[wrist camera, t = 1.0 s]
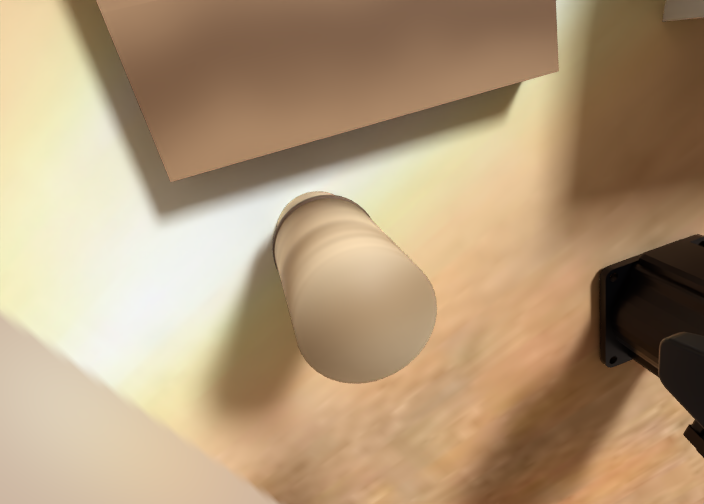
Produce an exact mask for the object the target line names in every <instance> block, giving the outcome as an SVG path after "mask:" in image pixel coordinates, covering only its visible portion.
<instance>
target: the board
mask: <svg viewBox="0 0 704 504" xmlns="http://www.w3.org/2000/svg"><path fill="white" fill-rule="evenodd" d="M96 2H97V4H98V7H99V9H100V11H101V14H102V16H103V19H104V21H105V24H106V26H107V28H108V31H109V33H110V36H111V38H112V41H113V43H114V46H115V48H116V50H117V53H118V55H119V58H120V60H121V63H122V65H123V67H124V70H125V72H126V75H127V77H128V80H129V82H130V85H131V87H132V89H133V92H134V94H135V97H136V99H137V102H138V104H139V106H140V109H141V111H142V114H143V116H144V119H145V121H146V123H147V126H148V128H149V131H150V133H151V136H152V138H153V141H154V143H155V145H156V148H157V150H158V153H159V155H160V158H161V160H162V162H163V165H164V167H165V170H166V172H167V175H168V177H169V179H170V182H173V181H177V180H180V179H184V178H187V177H191V176H194V175H198V174H201V173H205V172H208V171H211V170H215V169H218V168H222V167H225V166H229V165H232V164H236V163H239V162H243V161H246V160H250V159H253V158H257V157H260V156H264V155H267V154H271V153H274V152H278V151H281V150H285V149H288V148H292V147H295V146H299V145H302V144H306V143H309V142H313V141H316V140H320V139H323V138H327V137H330V136H334V135H337V134H341V133H344V132H348V131H351V130H355V129H358V128H362V127H365V126H369V125H372V124H375V123H379V122H382V121H386V120H389V119H393V118H396V117H400V116H403V115H407V114H410V113H414V112H417V111H421V110H424V109H428V108H431V107H435V106H438V105H442V104H445V103H449V102H452V101H456V100H459V99H463V98H466V97H470V96H473V95H477V94H480V93H484V92H487V91H491V90H494V89H498V88H501V87H505V86H508V85H512V84H515V83H519V82H522V81H526V80H529V79H533V78H536V77H540V76H543V75H546V74H550V73H553V72H557V71H559V67H558V43H557V20H556V0H96Z"/></svg>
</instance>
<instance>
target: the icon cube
mask: <svg viewBox="0 0 704 504" xmlns="http://www.w3.org/2000/svg"><path fill="white" fill-rule="evenodd" d="M697 18H704V0H666V1H665V8H664V14H663V20H662V21H674V20H686V19H697Z"/></svg>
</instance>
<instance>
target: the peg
mask: <svg viewBox="0 0 704 504" xmlns="http://www.w3.org/2000/svg"><path fill="white" fill-rule="evenodd" d="M272 250H273V257H274V261H275V265H276V268H277V270H278V272H279V275H280V279H281V283H282V286H283V290H284V294H285V298H286V302H287V305H288V309H289V313H290V317H291V321H292V324H293V328H294V332H295V336H296V339H297V343H298V347H299V349H300V351H301V354H302V355H303V357H304V358H305V360H306V361H307V362H308V364H309V365H310V366H311V367H312V368H313V369H315V370H316V371H317V372H318V373H320V374H322V375H323V376H325V377H327V378H330V379H332V380H335V381H339V382H344V383H367V382H373V381H377V380H380V379H383V378H385V377H388V376H390V375H392V374H394V373H396V372H398V371H399V370H401V369H402V368H404V367H405V366H407V365H408V364H409V363H410V362H411V361H412V360H414V358H415V357H416V356H417V355H418V354H419V353H420V352H421V351H422V349H423V348H424V347H425V345H426V343H427V342H428V340H429V338H430V336H431V334H432V331H433V328H434V325H435V321H436V315H437V302H436V296H435V292H434V289H433V287H432V285H431V282H430V281H429V279H428V278H427V276H426V275H425V274H424V273H423V271H422V270H421V269H420V268H419V267H418V266H417V265H416V264H415V263H414V262H413V261H412V260H411V259H410V258H409V257H408V256H407V255H406V254H405V253H404V252H403V251H402V250H401V249H400V248H399V247H398V246H397V245H396V244H395V243H394V242H393V241H392V240H391V239H390V238H389V237H388V236H387V235H386V234H385V233H384V232H383V231H382V230H381V229H380V228H379V227H378V226H377V225H376V223H375V222H374V221H373V220H372V219H371V218H370V216H369V215H368V214H367V213H366V212H365V210H364V209H363V208H361V207H360V206H359V205H358V204H356V203H355V202H353V201H352V200H349V199H347V198H344V197H341V196H336V195H333V194H331V193H327V192H322V191H315V192H308V193H305V194H302V195H300V196H298V197H296V198H295V199H293V200H292V201H291V202H290V203H288V204H287V206H286V207H285V208H284V209H283V211H282V212H281V215H280V217H279V219H278V223H277V228H276V231H275V234H274V238H273V248H272Z"/></svg>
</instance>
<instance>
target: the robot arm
mask: <svg viewBox="0 0 704 504" xmlns="http://www.w3.org/2000/svg"><path fill="white" fill-rule="evenodd" d="M610 276H611V277H610ZM600 349H601V362H602V363H603V364H605V365H606V366H607V367H610V368H611V367H614V366H617V365H619V364H622V363H625V362H627V361H630V360H632V359H633V360H635V361H636V362H638V363H639V364H641V365H642V366H643V367H645V368H646V369H648V370H649V371H650V372H652V373H653V374H655V375H656V376H658V377H659V378H660V380H661V382H662V384H663V385H664V387H665V388H666V389H667V390H668V391H669V392H670V393H671V394H672V395H673V396H674V397H675V398H676V400H677V401H678V402H679V403H680V404H681V405H682V406H683V407H684V408H685V409H686V410H687V411H688V412H689V413H690V414H691V416H692V417H693V418H694V419H695V420H694V422H693V424H692V425H688V427H687V429H686V430H685V432H684V434H683V435H684V436H685V437H686V438H687V439H688V440H689V441H690V442H691V443H692V445H693V446H694V447H695V448H696V450H697V451H698V452H699V453H700V454H701V455H702V456H703V458H704V236H702V235H699V234H697V235H693V236H691V237H688V238H685V239H682V240H678V241H675V242H673V243H670V244H667V245H664V246H662V247H659V248H656V249H653V250H650V251H648V252H645V253H643V254H640V255H638V256H635V257H632V258H629V259H626V260H624V261H621V262H618V263H615V264H613V265H610V266H607V267H606V268H604V269H603V270H602V272H601V274H600Z"/></svg>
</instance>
